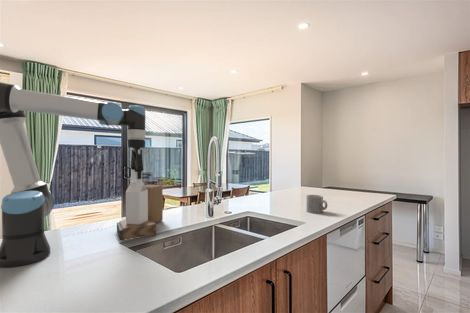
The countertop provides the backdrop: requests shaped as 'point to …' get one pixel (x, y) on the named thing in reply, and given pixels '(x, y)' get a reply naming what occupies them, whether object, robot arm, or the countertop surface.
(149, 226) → the block
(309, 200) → the coffee mug
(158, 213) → the wooden block
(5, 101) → the robot arm
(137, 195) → the milk carton
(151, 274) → the countertop surface
